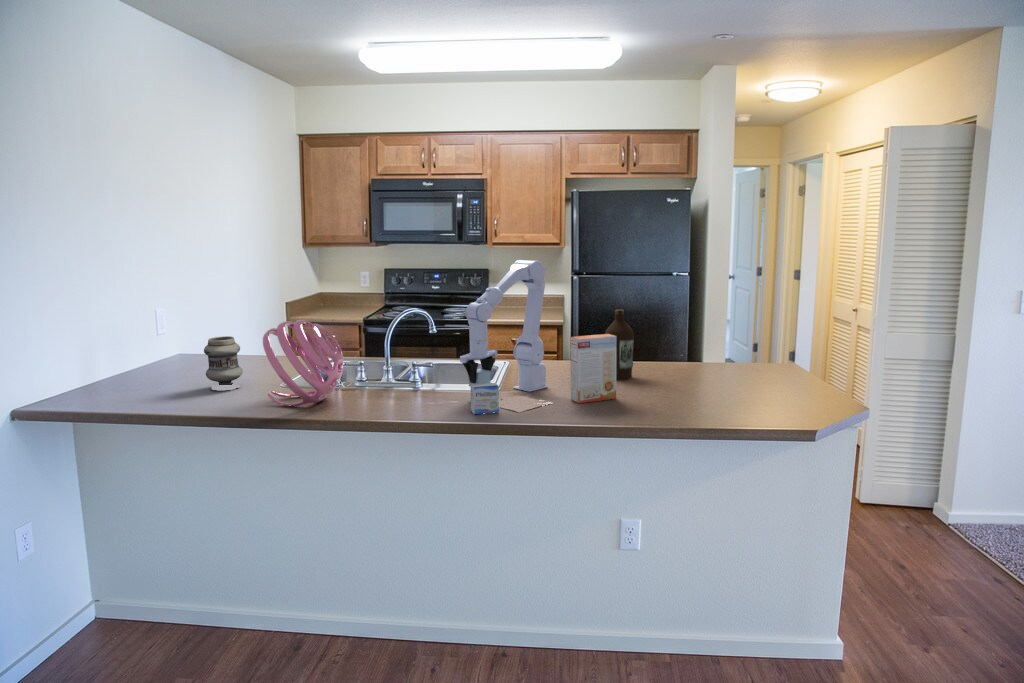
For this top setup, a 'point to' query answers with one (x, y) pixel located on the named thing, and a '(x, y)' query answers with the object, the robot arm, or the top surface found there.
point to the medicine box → (484, 398)
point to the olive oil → (622, 345)
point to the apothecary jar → (223, 360)
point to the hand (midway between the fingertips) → (479, 381)
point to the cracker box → (593, 368)
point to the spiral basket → (306, 360)
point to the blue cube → (482, 377)
